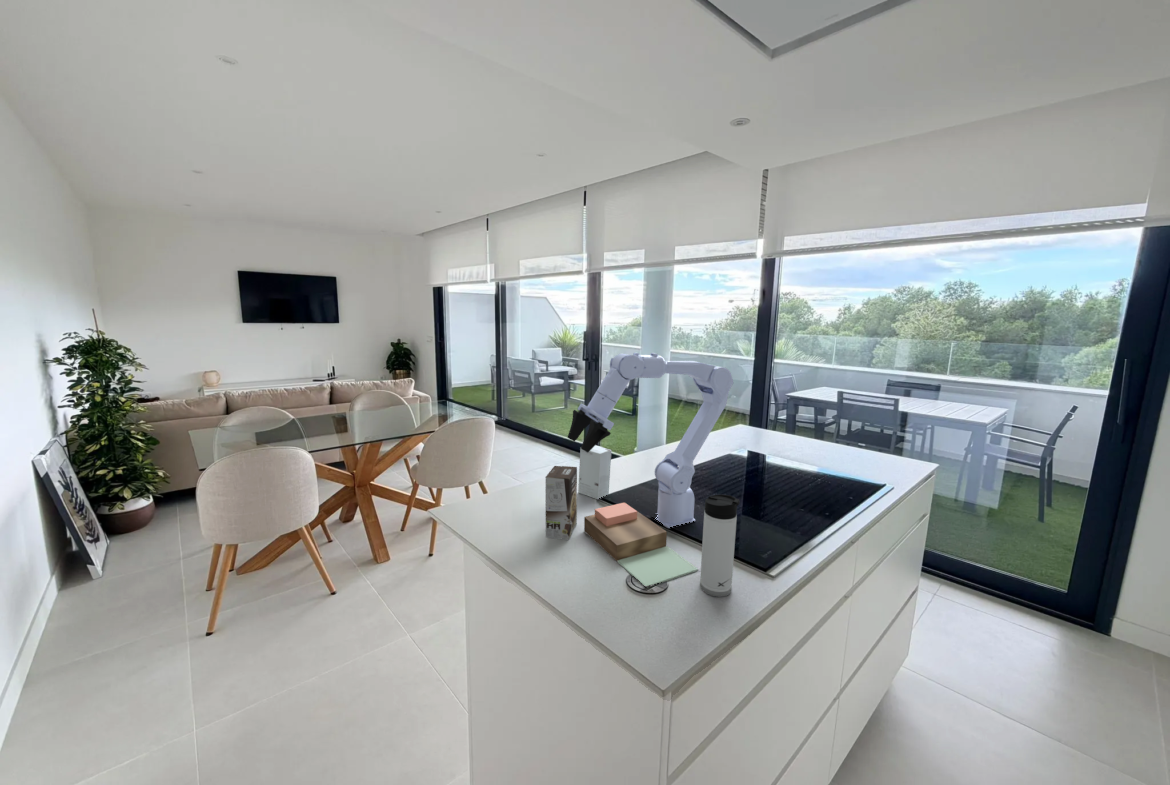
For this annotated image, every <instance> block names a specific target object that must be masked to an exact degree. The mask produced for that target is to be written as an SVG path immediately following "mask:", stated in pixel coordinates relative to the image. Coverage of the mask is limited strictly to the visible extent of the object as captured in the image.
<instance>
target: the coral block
mask: <svg viewBox="0 0 1170 785" xmlns="http://www.w3.org/2000/svg"><path fill="white" fill-rule="evenodd" d="M637 511H638V510H636V509H635V508H633V507H632V506H630V505H629V504H627V503H626V502H620V503H616V504H612V505H608V506H602V507H599V508H598V507H597V508H595V509H594V515H595V517H596V518H597V519H599V520H600V521H601V522H602V523H603V524H605V525H606V526H609V525H614V524H618V523H622V522H626V521H630V520H634V519H637Z"/></svg>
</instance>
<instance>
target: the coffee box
mask: <svg viewBox="0 0 1170 785" xmlns="http://www.w3.org/2000/svg"><path fill="white" fill-rule="evenodd" d="M577 503H578V467H577V466H570V465H569V466H568V465H567V466H566V465H560V466H559V465H554V466H553V467H552V468H551V469H550V471H549V472H548V473H547V474H546V476H545V538H549V539H557V540H566V541H569V540H570V539H571V536H572V535H573V532H574V530H575V528H576V526H577V524H578V519H577V518H578V504H577Z"/></svg>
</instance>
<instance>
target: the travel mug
mask: <svg viewBox="0 0 1170 785" xmlns="http://www.w3.org/2000/svg"><path fill="white" fill-rule="evenodd" d="M740 504H741V503H740V499H739V498H736V497H735V496H732V495H729V494H712V495H710V496H708V497H707V498H706V499H705V500H704V512H703V528H702V543H701V544H702V546H701V547H702V548H701V562H700V563H701V564H700V580H699V587H700V588H701V590H702V591H703V592H704V593H706V594H707V595H710V596H712V597H720V598H722V597H726V596H728V595H730V594H731V593H732V586H733V575H734V574H733V573H734V560H735V558H734V557H735V546H736V545H735V544H736V533H737V517H738V516H737V513H738V512H737V511H738V506H739V505H740Z"/></svg>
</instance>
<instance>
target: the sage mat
mask: <svg viewBox="0 0 1170 785" xmlns="http://www.w3.org/2000/svg"><path fill="white" fill-rule="evenodd" d="M617 563H618V564H619V565H620V566H621V567H622V568H624V569H625V571H627V573H629V575H630V576H632V577H633V576H634V577H635V578H636V579H638V580H639V581H640V582H641V583H642V584H643V585H645V586H649V585H653V584H656V585H658V584H657V583H659V584H662V583H665V582H668V581H671V580H674V579H677V578H681V577H684V576H686V575H688V574H692V573H695V572H698V571H699V568H697V567H696V566H694V565H693V564H692V563H691V562H689V561H688V560H687V559H685V558H684V557H682V556H681V555H680V554H679V553H677V552H676V551H675V550H673V549H672V548H670V547H669V546H667V545H666V547H662V548H659V549H655V550H652V551H648V552H645V553H642V554H638V555H635V556H631V557H628V558H624V559H621V560H618V561H617ZM634 577H633V578H634ZM635 578H634V579H635ZM636 579H635V580H636ZM639 581H638V582H639ZM640 582H639V583H640ZM661 582H662V583H661ZM641 583H640V584H641ZM642 584H641V585H642ZM643 585H642V586H643ZM653 586H654V585H653Z"/></svg>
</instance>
